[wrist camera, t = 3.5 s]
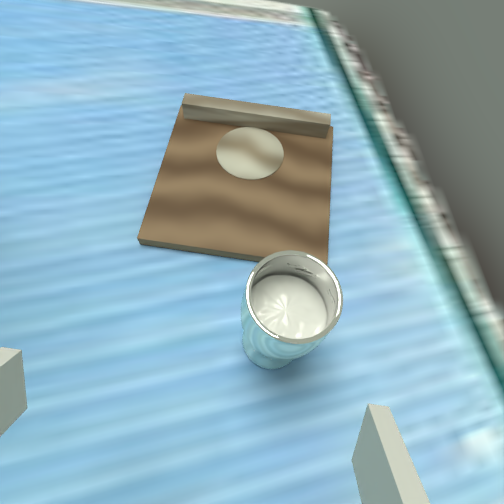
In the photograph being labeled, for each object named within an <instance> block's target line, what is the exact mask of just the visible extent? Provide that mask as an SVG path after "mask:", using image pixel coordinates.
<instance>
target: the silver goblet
mask: <svg viewBox="0 0 504 504" xmlns="http://www.w3.org/2000/svg"><path fill="white" fill-rule="evenodd" d="M342 307H343V295H342V289H341V286H340V283H339V281H338V279H337V277H336V275H335V274H334V272H333V271H332V270H331V269H330V267H329V266H328V265H326V264H325V263H324V262H323V261H322V260H320V259H319V258H317V257H315V256H313V255H311V254H308V253H305V252H302V251H295V250H287V251H280V252H276V253H273V254H271V255H269V256H267V257H265V258H264V259H262V260H261V261H260V262H259V263H258V264H257V265H256V266H255V267H254V269H253V270H252V272H251V273H250V275H249V278H248V280H247V284H246V288H245V291H244V294H243V297H242V303H241V324H242V328H243V336H242V342H243V347H244V350H245V353H246V354H247V356H248V357H249V359H250V360H251V361H252V362H253V363H255V364H256V365H258V366H260V367H262V368H266V369H278V368H281V367H284V366H286V365H287V364H289V363H290V362H291V361H292V360H293V359H296V358H299V357H302V356H304V355H306V354H307V353H309V352H311V351H312V350H314V349H315V348H316V347H317V346H318V345H319V344H320V343H321V342H322V341H323V340H324V339H325V338H326V336H327V335H328V334H329V332H330V331H331V330H332V329H333V328H334V326H335V325H336V324H337V322H338V320H339V318H340V315H341V312H342Z"/></svg>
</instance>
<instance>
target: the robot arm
mask: <svg viewBox="0 0 504 504" xmlns="http://www.w3.org/2000/svg"><path fill="white" fill-rule="evenodd" d="M26 409H27V400H26V390H25V380H24V370H23V360H22V350H18V349H12V348H5V347H1V348H0V436H1V435H2V434H3V433H4V432H5V431H6V430H7V429H8V428H9V427H10V426H11V425H12V424H13V423H14V422H15V421H16V420H17V419H18V418H19V416H20V415H21V414H22V413H23V412H24V411H25V410H26ZM352 464H353V468H354V472H355V476H356V481H357V485H358V489H359V493H360V497H361V502H362V504H430V502H429V500H428V497H427V495H426V493H425V490H424V488H423V486H422V483H421V481H420V479H419V476H418V474H417V472H416V469H415V467H414V465H413V462H412V460H411V458H410V455H409V453H408V451H407V448H406V446H405V444H404V441H403V439H402V437H401V434H400V432H399V430H398V427H397V425H396V423H395V420H394V418H393V416H392V413H391V411H390V409H389V407H387V406H381V405H374V404H368V405H367V408H366V412H365V415H364V419H363V422H362V426H361V429H360V432H359V436H358V439H357V443H356V446H355V450H354V453H353V457H352Z"/></svg>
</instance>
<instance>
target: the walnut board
mask: <svg viewBox="0 0 504 504" xmlns="http://www.w3.org/2000/svg"><path fill="white" fill-rule="evenodd" d="M330 119H331V114H326V113H319V112H312V111H305V110H298V109H291V108H285V107H278V106H271V105H264V104H257V103H250V102H243V101H236V100H229V99H222V98H215V97H208V96H201V95H194V94H187V93H185V95H184V98H183V101H182V105H181V107H180V110H179V113H178V116H177V119H176V122H175V125H174V128H173V131H172V134H171V137H170V140H169V143H168V146H167V149H166V152H165V155H164V158H163V161H162V164H161V167H160V170H159V173H158V176H157V179H156V182H155V185H154V188H153V191H152V194H151V197H150V201H149V204H148V207H147V210H146V213H145V216H144V219H143V222H142V225H141V228H140V231H139V234H138V237H137V239H138V241H139V243H140V244H143V245H149V246H156V247H163V248H170V249H176V250H183V251H190V252H196V253H203V254H210V255H217V256H223V257H230V258H237V259H243V260H250V261H257V262H260V261H261V260H262V259H264V258H265V257H267V256H269V255H271V254H273V253H276V252H280V251H287V250H295V251H302V252H305V253H308V254H311V255H313V256H315V257H317V258H319V259H320V260H322V261H323V262H324V263H325V264H326V265H327V261H328V237H329V214H330V190H331V166H332V143H333V127H331V126H330Z"/></svg>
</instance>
